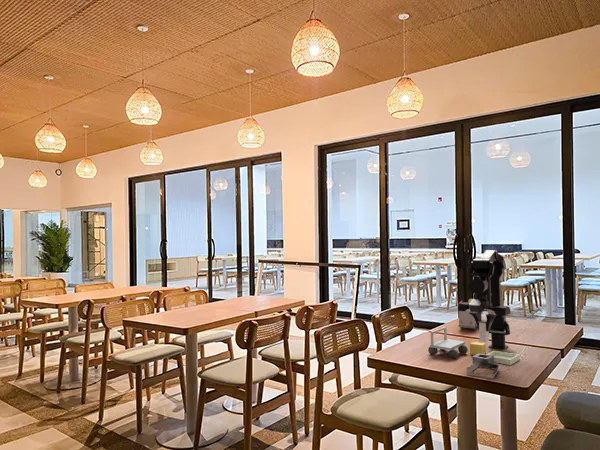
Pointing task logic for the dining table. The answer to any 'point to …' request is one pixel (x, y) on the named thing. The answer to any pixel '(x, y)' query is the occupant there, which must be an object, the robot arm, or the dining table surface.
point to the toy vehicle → (466, 319)
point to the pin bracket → (483, 358)
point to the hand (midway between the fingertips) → (484, 330)
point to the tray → (504, 357)
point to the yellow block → (477, 348)
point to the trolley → (447, 345)
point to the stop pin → (483, 331)
